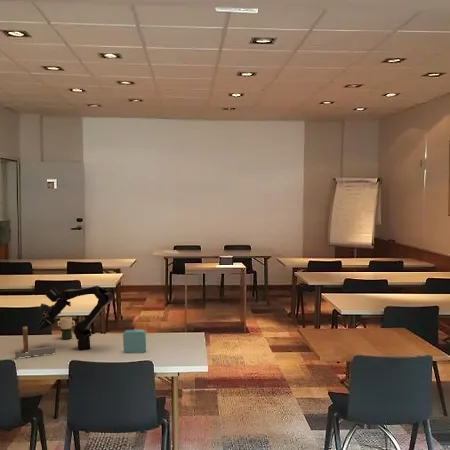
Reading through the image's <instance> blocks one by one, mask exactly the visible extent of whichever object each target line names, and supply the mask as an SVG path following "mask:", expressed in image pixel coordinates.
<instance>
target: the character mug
mask: <svg viewBox="0 0 450 450" xmlns="http://www.w3.org/2000/svg"><path fill="white" fill-rule="evenodd" d="M57 326H58V327H60V329H61V330H62V331H61V339H63V340H69V338H70V339H71V338H73V333H72V328H73V327H75V326H76V321H75V320H73V318H72V317H71V316H65V317H60V318H59V320H58V321H57Z"/></svg>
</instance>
